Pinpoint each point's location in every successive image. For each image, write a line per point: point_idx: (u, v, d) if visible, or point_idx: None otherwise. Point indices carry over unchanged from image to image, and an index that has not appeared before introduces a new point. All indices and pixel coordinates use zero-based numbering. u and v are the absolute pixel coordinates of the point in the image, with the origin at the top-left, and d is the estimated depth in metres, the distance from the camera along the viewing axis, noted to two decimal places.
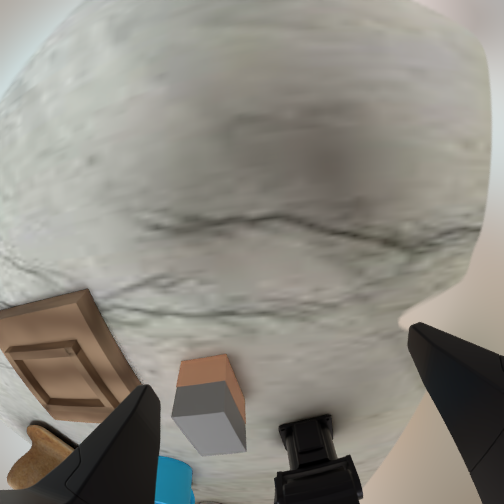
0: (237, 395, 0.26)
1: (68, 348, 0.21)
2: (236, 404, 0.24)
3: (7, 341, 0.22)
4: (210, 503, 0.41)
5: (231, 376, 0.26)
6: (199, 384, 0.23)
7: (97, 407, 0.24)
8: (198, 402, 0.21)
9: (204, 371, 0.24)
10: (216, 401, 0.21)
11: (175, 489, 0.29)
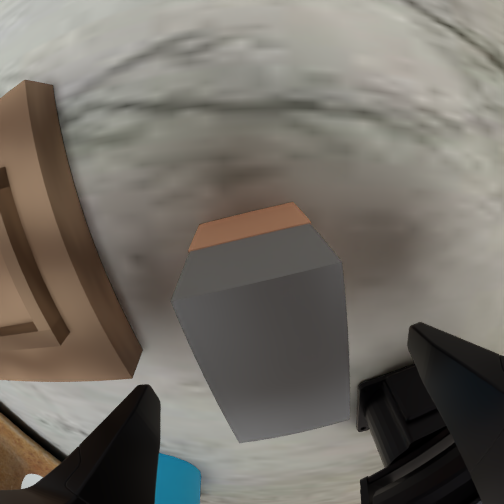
0: None
1: None
2: None
3: None
4: None
5: None
6: (247, 239, 0.10)
7: (26, 334, 0.11)
8: (253, 261, 0.08)
9: (253, 223, 0.12)
10: (306, 250, 0.08)
11: None
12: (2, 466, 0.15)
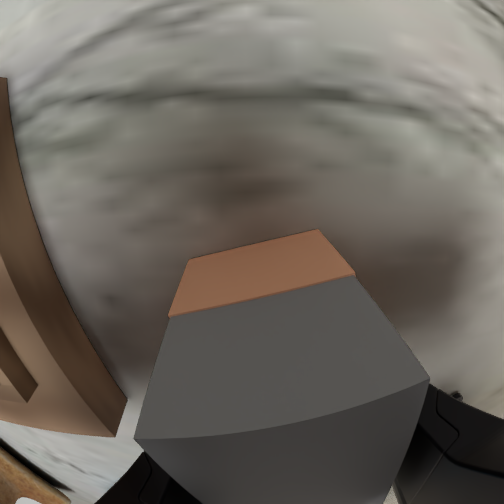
0: None
1: None
2: None
3: None
4: None
5: None
6: (258, 300, 0.07)
7: None
8: (271, 363, 0.05)
9: (265, 266, 0.08)
10: (363, 343, 0.04)
11: None
12: None
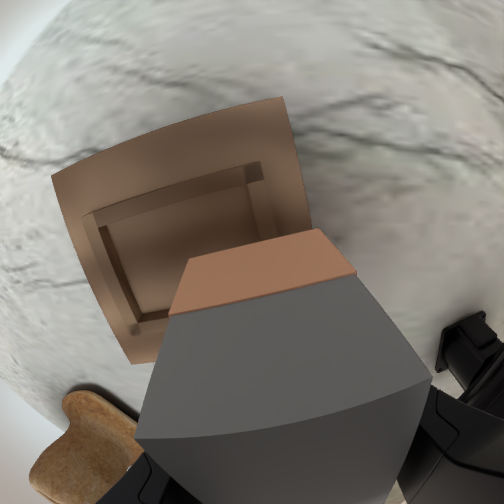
0: None
1: (253, 166, 0.15)
2: None
3: (89, 201, 0.17)
4: None
5: None
6: (259, 299, 0.07)
7: None
8: (273, 362, 0.05)
9: (266, 265, 0.08)
10: (365, 341, 0.04)
11: None
12: (112, 461, 0.22)
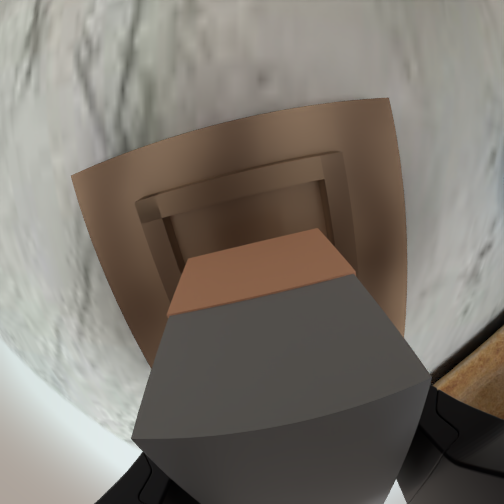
0: None
1: (139, 210, 0.12)
2: None
3: None
4: None
5: None
6: (258, 299, 0.07)
7: (331, 205, 0.12)
8: (271, 362, 0.05)
9: (265, 265, 0.08)
10: (363, 342, 0.04)
11: None
12: (502, 397, 0.16)
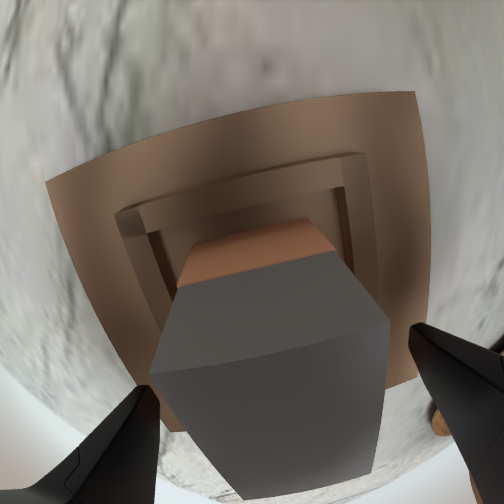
0: None
1: (120, 223, 0.10)
2: None
3: None
4: None
5: None
6: (253, 271, 0.08)
7: (351, 218, 0.10)
8: (262, 313, 0.06)
9: (260, 246, 0.09)
10: (336, 297, 0.06)
11: None
12: None
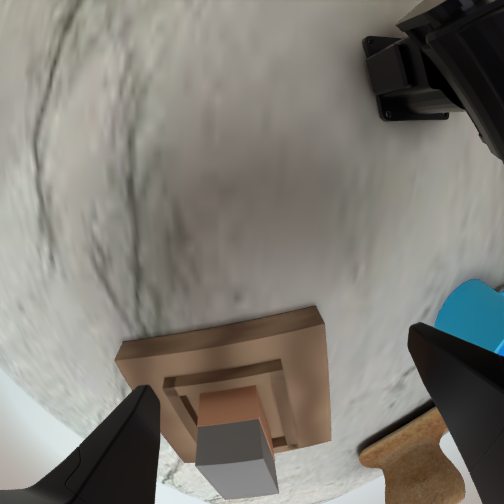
0: (267, 430, 0.21)
1: (165, 391, 0.19)
2: (267, 442, 0.19)
3: None
4: None
5: (261, 410, 0.20)
6: (227, 423, 0.18)
7: (275, 391, 0.20)
8: (228, 447, 0.16)
9: (230, 407, 0.19)
10: (251, 445, 0.16)
11: (483, 323, 0.18)
12: (417, 463, 0.24)
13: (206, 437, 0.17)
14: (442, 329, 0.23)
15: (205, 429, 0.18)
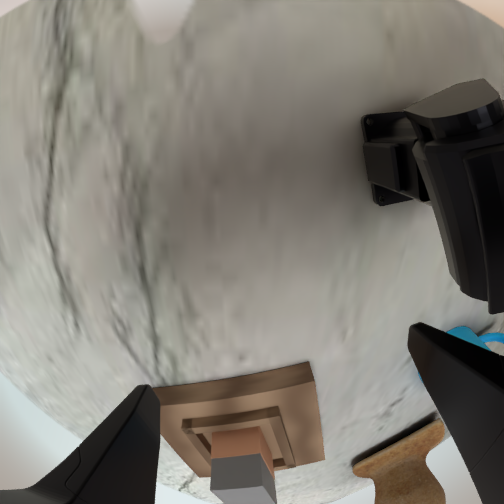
0: (268, 457, 0.24)
1: (184, 431, 0.23)
2: (268, 467, 0.22)
3: None
4: None
5: (263, 443, 0.23)
6: (234, 456, 0.21)
7: (274, 430, 0.23)
8: (235, 476, 0.19)
9: (237, 442, 0.22)
10: (254, 475, 0.19)
11: None
12: (402, 478, 0.26)
13: (218, 467, 0.20)
14: None
15: (217, 461, 0.21)
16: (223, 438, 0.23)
